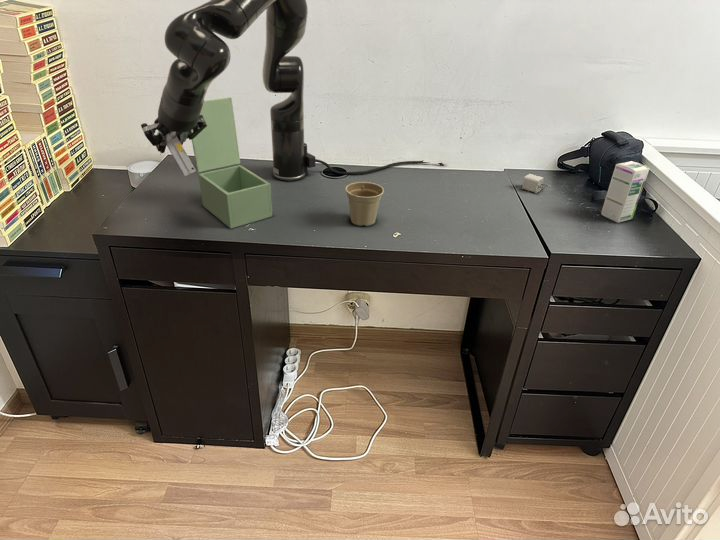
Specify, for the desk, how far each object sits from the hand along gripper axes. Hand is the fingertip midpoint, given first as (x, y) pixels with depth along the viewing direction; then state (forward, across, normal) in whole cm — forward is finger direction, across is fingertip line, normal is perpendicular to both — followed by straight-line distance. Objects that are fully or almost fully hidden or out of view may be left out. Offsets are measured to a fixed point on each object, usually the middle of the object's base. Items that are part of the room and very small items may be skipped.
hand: (168, 147), depth 112 cm
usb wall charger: (-13, +91, -40) cm, 101 cm away
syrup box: (-30, +94, -57) cm, 114 cm away
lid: (+6, +14, +4) cm, 16 cm away
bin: (+12, +14, -14) cm, 24 cm away
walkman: (+2, +3, -6) cm, 7 cm away
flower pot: (-4, +37, -31) cm, 48 cm away
